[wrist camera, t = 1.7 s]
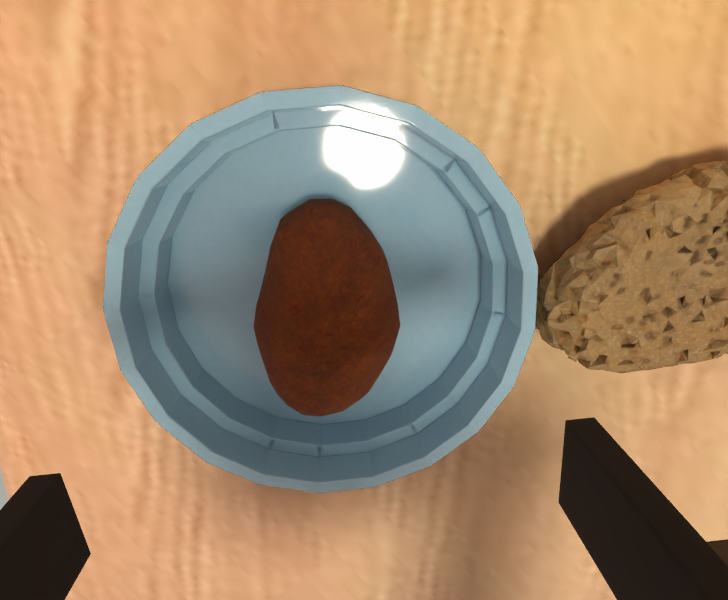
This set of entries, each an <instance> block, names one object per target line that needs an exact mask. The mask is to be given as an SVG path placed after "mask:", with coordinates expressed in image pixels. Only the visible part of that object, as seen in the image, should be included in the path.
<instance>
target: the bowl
mask: <svg viewBox="0 0 728 600" xmlns="http://www.w3.org/2000/svg"><path fill="white" fill-rule="evenodd" d="M330 198H332V199H334V200H336V201H338V202H341V203H343V204H345V205H347V206H349V207H351V208H352V209H353V211H354V212H355V213H356V214H357V215H358V216H359V217H360V218H361V219H362V221H363V222H364V223H365V224H366V225H367V226H368V228H369V229H370V230H371V231H372V233H373V235H374V236H375V238H376V239H377V241H378V243H379V244H380V246H381V247H382V249H383V251H384V253H385V256H386V259H387V262H388V265H389V269H390V273H391V277H392V281H393V285H394V289H395V294H396V299H397V303H398V310H399V318H400V329H399V332H398V336H397V339H396V342H395V346H394V349H393V352H392V355H391V357H390V358H389V360H388V362H387V364H386V365H385V367H384V369H383V371H382V373H381V374H380V376H379V377H378V379H377V380H376V382H375V383H374V385H373V386H372V388H371V389H370V391H369V392H368V393H367V394H366V395H365V396H364V397H363V398H362V399H360V400H359V401H357V402H356V403H354V404H353V405H351V406H350V407H349V408H347V409H346V410H344V411H342V412H338V413H334V414H330V415H326V416H322V417H319V416H308V415H302V414H300V413H299V412H297V411H295V410H294V409H292V408H291V407H289V406H287V405H286V404H285V402H284V401H283V400H282V399H281V398H280V397H279V396H278V395H277V393H276V391H275V390H274V388H273V386H272V385H271V383H270V381H269V378H268V375H267V372H266V369H265V366H264V363H263V360H262V357H261V354H260V351H259V347H258V344H257V340H256V336H255V331H254V319H255V311H256V304H257V301H258V297H259V294H260V290H261V286H262V282H263V278H264V274H265V269H266V265H267V260H268V255H269V250H270V245H271V243H272V240H273V237H274V235H275V232H276V229H277V227H278V224H279V221H280V219H281V218H282V217H283V216H284V215H286V214H287V213H288V212H289V211H291V210H293V209H294V208H296V207H298V206H299V205H301V204H303V203H304V202H306V201H308V200H309V199H330ZM537 283H538V265H537V261H536V258H535V255H534V251H533V248H532V244H531V241H530V237H529V234H528V230H527V227H526V224H525V220H524V217H523V213H522V210H521V206H520V205H519V203H518V201H517V200H516V199H515V197H514V196H513V194H512V193H511V192H510V190H509V189H508V188H507V186H506V185H505V183H504V182H503V181H502V179H501V178H500V176H499V175H498V174H497V172H496V171H495V170H494V168H493V167H492V165H491V164H490V163H489V161H488V160H487V158H486V157H485V156H484V154H483V153H482V152H481V150H480V149H479V148H478V147H477V146H475V145H474V144H472V143H471V142H470V141H468V140H467V139H465V138H464V137H462V136H461V135H459V134H458V133H456V132H455V131H454V130H452V129H451V128H449V127H448V126H446V125H445V124H443V123H442V122H440V121H439V120H438V119H436V118H435V117H433V116H432V115H430V114H429V113H427V112H426V111H424V110H423V109H422V108H420V107H419V106H416V105H414V104H410V103H406V102H403V101H399V100H395V99H391V98H388V97H384V96H380V95H376V94H373V93H369V92H365V91H361V90H358V89H354V88H350V87H346V86H343V85H342V86H340V85H335V86H323V87H311V88H298V89H286V90H274V91H263V92H262V93H261V92H259V93H257V94H255V95H253V96H250V97H248V98H246V99H244V100H242V101H239V102H237V103H235V104H233V105H231V106H228V107H226V108H224V109H222V110H220V111H217V112H215V113H213V114H211V115H209V116H207V117H204V118H202V119H200V120H198V121H196V122H193V123H192V124H191V125H189V126H187V127H186V128H185V129H184V130H183V131H182V132H181V133H180V134H179V135H178V136H177V137H176V138H175V139H174V140H173V141H172V142H171V143H170V144H169V145H168V146H167V147H166V148H165V149H164V150H163V151H162V152H161V153H160V154H159V155H158V156H157V157H156V158H155V159H154V160H153V161H152V162H151V163H150V164H149V165H148V166H147V167H146V168H145V169H144V170H143V172H142V173H141V174H140V175H139V176H138V178H137V179H136V180H135V182H134V184H133V187H132V189H131V191H130V193H129V196H128V198H127V200H126V202H125V205H124V207H123V209H122V211H121V213H120V216H119V218H118V220H117V222H116V225H115V227H114V229H113V231H112V233H111V236H110V238H109V240H108V243H107V255H106V271H105V288H104V304H103V309H104V310H103V311H104V315H105V318H106V321H107V325H108V328H109V332H110V335H111V339H112V342H113V346H114V349H115V352H116V356H117V359H118V363H119V366H120V370H121V371H122V373H123V375H124V376H125V378H126V379H127V381H128V382H129V384H130V385H131V387H132V388H133V389H134V391H135V392H136V394H137V395H138V397H139V398H140V400H141V401H142V403H143V404H144V405H145V407H146V408H147V410H148V411H149V413H150V414H151V416H152V417H153V419H154V420H155V421H156V423H157V422H158V424H159V425H160V426H161V427H162V428H164V429H165V430H166V431H167V432H169V433H170V434H171V435H172V436H174V437H175V438H176V439H177V440H179V441H180V442H181V443H182V444H184V445H185V446H186V447H187V448H189V449H190V450H191V451H192V452H194V453H195V454H196V455H197V456H199V457H200V458H201V459H202V460H205V462H207V463H209V464H211V465H214V466H216V467H219V468H221V469H223V470H226V471H228V472H230V473H233V474H235V475H237V476H240V477H242V478H244V479H247V480H249V481H251V482H254V483H256V484H258V485H259V484H260V485H266V486H272V487H279V488H286V489H293V490H300V491H307V492H314V493H325V492H334V491H344V490H353V489H362V488H371V487H376V486H380V485H382V484H385V483H388V482H390V481H393V480H396V479H398V478H401V477H404V476H406V475H409V474H411V473H414V472H417V471H419V470H422V469H425V468H427V467H429V466H431V465H433V464H434V463H436V462H437V461H438V460H440V459H441V458H443V457H444V456H445V455H447V454H448V453H450V452H451V451H452V450H454V449H455V448H456V447H458V446H459V445H461V444H462V443H463V442H465V441H466V440H468V439H469V438H470V437H472V436H473V435H475V434H476V433H477V432H478V431H479V430H480V429H481V428H482V426H483V425H484V424H485V422H486V421H487V420H488V419H489V417H490V416H491V415H492V414H493V412H494V411H495V410H496V409H497V407H498V406H499V405H500V403H501V402H502V401H503V400H504V398H505V397H506V396H507V395H508V393H509V392H510V391H511V390H512V388H513V386H514V385H515V382H516V379H517V377H518V374H519V372H520V369H521V366H522V364H523V361H524V359H525V356H526V354H527V351H528V348H529V346H530V343H531V341H532V338H533V336H534V333H535V322H536V303H537Z"/></svg>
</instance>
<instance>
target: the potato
mask: <svg viewBox="0 0 728 600" xmlns="http://www.w3.org/2000/svg"><path fill="white" fill-rule="evenodd" d="M399 329H400V318H399V310H398V303H397V299H396V294H395V289H394V285H393V281H392V277H391V273H390V269H389V265H388V262H387V259H386V256H385V253H384V251H383V249H382V247H381V246H380V244H379V243H378V241H377V239H376V238H375V236H374V235H373V233H372V231H371V230H370V229H369V228H368V226H367V225H366V224H365V223H364V222H363V221H362V219H361V218H360V217H359V216H358V215H357V214H356V213H355V212H354V211H353V209H352V208H351V207H349V206H347V205H345V204H343V203H341V202H338V201H336V200H334V199H332V198H330V199H309V200H308V201H306V202H304V203H303V204H301V205H299V206H298V207H296V208H294V209H293V210H291V211H289V212H288V213H287V214H286V215H284V216H283V217H282V218H281V219H280V221H279V224H278V227H277V229H276V232H275V235H274V237H273V240H272V243H271V245H270V250H269V255H268V260H267V265H266V269H265V274H264V278H263V282H262V286H261V290H260V294H259V297H258V301H257V304H256V311H255V319H254V331H255V336H256V340H257V344H258V347H259V351H260V354H261V357H262V360H263V363H264V366H265V369H266V372H267V375H268V378H269V381H270V383H271V385H272V386H273V388H274V390H275V391H276V393H277V395H278V396H279V397H280V398H281V399H282V400H283V401H284V402H285V404H286V405H287V406H289V407H291V408H292V409H294V410H295V411H297V412H299V413H300V414H302V415H308V416H319V417H322V416H326V415H330V414H334V413H338V412H342V411H344V410H346V409H347V408H349V407H350V406H351V405H353V404H354V403H356V402H357V401H359V400H360V399H362V398H363V397H364V396H365V395H366V394H367V393H368V392H369V391H370V389H371V388H372V386H373V385H374V383H375V382H376V380H377V379H378V377H379V376H380V374H381V373H382V371H383V369H384V367H385V365H386V364H387V362H388V360H389V358H390V357H391V355H392V352H393V349H394V346H395V342H396V339H397V336H398V332H399Z"/></svg>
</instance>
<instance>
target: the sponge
mask: <svg viewBox="0 0 728 600" xmlns="http://www.w3.org/2000/svg"><path fill="white" fill-rule="evenodd" d="M633 196H634V197H632V198H631V199H629V200H628V201H627V202H626V201H624V200H623V201H622V203H621V205H619V206H616V207H612V208H611V209H610V210H609V211H608V212H607V213H606V214H604V215H603V216H602V217H601V218H600V219H599V220H598V221H596V222H595V223H593V224H591V225H590V226H589V227H588V228H587V230H586V231H585V233H584V234H583V236H582V238H581V239H580V240H579V241H577V242H576V243H575V244H574V245H573V246H571V247H570V248H568V249H567V250H566V251H565V253H564V254H563V256H562V257H560V258H559V259H558V260H557V261H556V262H555V263H554V264H553V265H552V266H551V268H550V269H549V270H548V271H547V272H546V273H545V274H544V276H543V277H542V278H541V280H540V283H539V285H538V287H537V303H536V321H537V323H538V326H539V330H540V334H541V337H542V339H543V340H544V341H546V342H547V343H548V344H550V345H551V346H552V347H555V348H558V349H561V350H564V351H565V352H566V354H567V355H568V356H569V357H568V358H570V359H572V360H574V361H575V362H576V361H577V359H578V361H579V363H581V364H582V365H583V366H585V367H586V368H587V369H593V370H606V371H612V372H618V373H626V372H633V371H640V370H651V369H656V368H661V367H668V366H675V365H679V364H685V363H696V362H701V361H706V360H711V359H714V358H718V357H720V356H722V355H723V354H725V353H727V354H728V161H713V162H709V163H701V164H695V165H692V166H691V167H690V168H686V169H684V170H682V171H680V172H678V173H676V174H674V175H671V180H670V179H666V180H665V181H664V182H662V183H659V184H656V185H652V186H650V187H648V188H645V189H640V190H637V191H636V192H635V194H634V195H633Z"/></svg>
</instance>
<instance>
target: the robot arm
mask: <svg viewBox="0 0 728 600" xmlns="http://www.w3.org/2000/svg"><path fill="white" fill-rule="evenodd" d="M559 504H560V505H561V507H562V509H563V510H564V512H565V514H566V515H567V517H568V519H569V520H570V522H571V524H572V525H573V527H574V529H575V530H576V532H577V534H578V535H579V537H580V539H581V540H582V542H583V544H584V545H585V547H586V549H587V550H588V552H589V554H590V555H591V557H592V559H593V560H594V562H595V564H596V565H597V567H598V569H599V570H600V572H601V574H602V575H603V577H604V579H605V580H606V582H607V584H608V585H609V587H610V589H611V590H612V592H613V594H614V595H615V597H616V599H617V600H728V540H719V541H710V542H706V541H705V540H704V539H703V538H702V537H701V536H700V535H699V533H698V532H697V531H696V530H695V529H694V528H693V527H692V526H691V525H690V523H689V522H688V521H687V520H686V519H685V518H684V517H683V516H682V515H681V513H680V512H679V511H678V510H677V509H676V508H675V507H674V506H673V505H672V503H671V502H670V501H669V500H668V499H667V498H666V497H665V496H664V495H663V493H662V492H661V491H660V490H659V489H658V488H657V487H656V486H655V485H654V483H653V482H652V481H651V480H650V479H649V478H648V477H647V476H646V475H645V473H644V472H643V471H642V470H641V469H640V468H639V467H638V466H637V465H636V463H635V462H634V461H633V460H632V459H631V458H630V457H629V456H628V455H627V453H626V452H625V451H624V450H623V449H622V448H621V447H620V446H619V445H618V443H617V442H616V441H615V440H614V439H613V438H612V437H611V436H610V435H609V433H608V432H607V431H606V430H605V429H604V428H603V427H602V426H601V425H600V423H599V422H598V421H597V420H596V419H595V418H585V419H575V420H566V423H565V434H564V446H563V458H562V469H561V481H560V493H559ZM90 554H91V553H90V551H89V548H88V545H87V543H86V540H85V537H84V535H83V532H82V529H81V527H80V524H79V521H78V519H77V516H76V514H75V511H74V508H73V506H72V503H71V500H70V498H69V495H68V492H67V490H66V487H65V485H64V482H63V479H62V477H61V474H60V473H58V474H48V475H39V476H30V477H29V478H28V479H27V480H26V481H25V482H24V484H23V485H22V486H21V487H20V488H19V489H18V490H17V492H16V493H15V494H14V495H13V496H12V497H11V498H10V500H9V501H8V502H7V503H6V504H5V505H4V507H3V508H2V509H1V510H0V600H65V598H66V596H67V595H68V593H69V591H70V589H71V588H72V586H73V584H74V582H75V580H76V579H77V577H78V575H79V573H80V572H81V570H82V568H83V566H84V565H85V563H86V561H87V559H88V558H89V556H90Z"/></svg>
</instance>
